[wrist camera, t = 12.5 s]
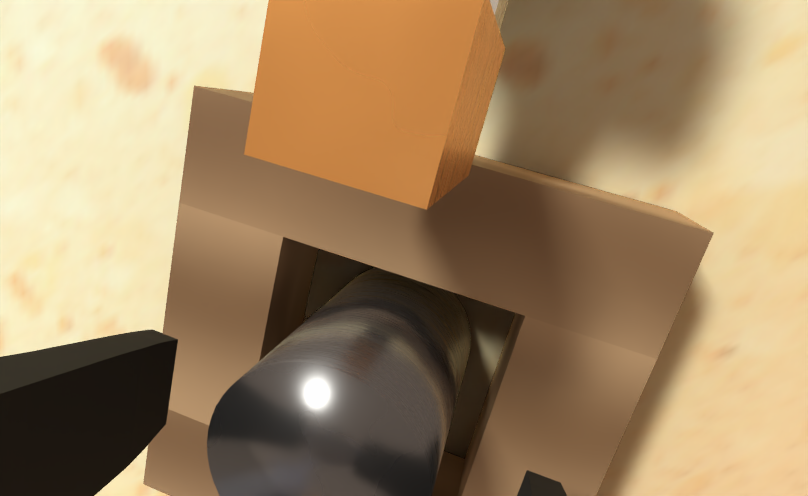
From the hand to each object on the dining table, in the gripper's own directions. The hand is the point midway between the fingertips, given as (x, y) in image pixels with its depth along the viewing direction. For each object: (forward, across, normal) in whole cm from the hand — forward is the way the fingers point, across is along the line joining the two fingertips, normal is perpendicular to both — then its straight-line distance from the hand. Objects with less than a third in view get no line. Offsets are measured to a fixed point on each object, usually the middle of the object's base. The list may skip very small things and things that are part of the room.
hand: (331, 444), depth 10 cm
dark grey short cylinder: (+5, 0, 0) cm, 5 cm away
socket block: (+5, 0, 0) cm, 5 cm away
